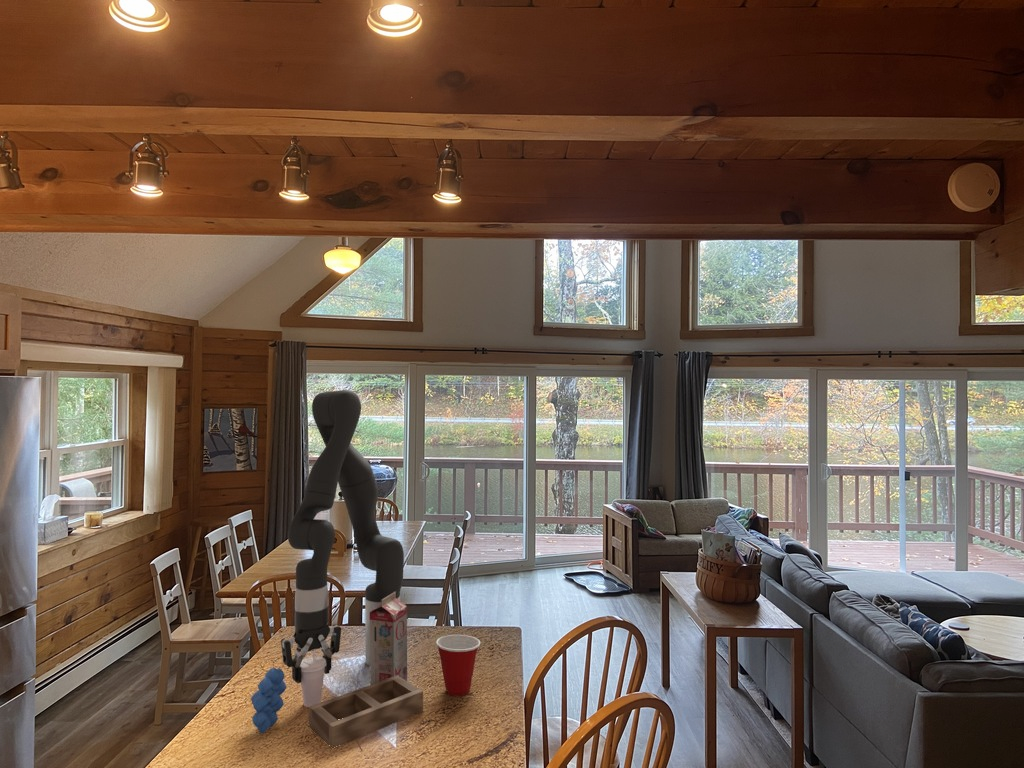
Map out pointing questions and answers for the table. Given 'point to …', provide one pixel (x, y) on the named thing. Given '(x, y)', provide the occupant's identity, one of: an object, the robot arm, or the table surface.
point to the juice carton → (388, 640)
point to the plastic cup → (457, 662)
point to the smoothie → (312, 679)
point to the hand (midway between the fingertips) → (312, 677)
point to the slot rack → (365, 710)
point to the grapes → (268, 699)
